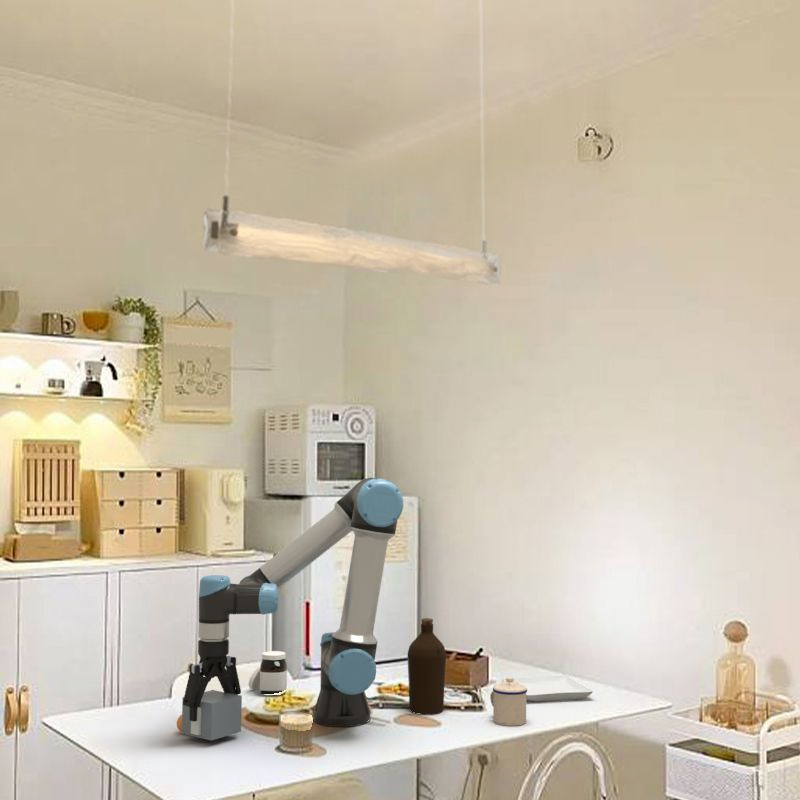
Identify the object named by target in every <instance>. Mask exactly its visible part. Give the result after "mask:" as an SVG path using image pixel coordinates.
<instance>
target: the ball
mask: <svg viewBox="0 0 800 800" xmlns="http://www.w3.org/2000/svg"><path fill="white" fill-rule="evenodd" d="M176 728H177V730H178V731H179V732H180V733H182V714H181V715H179V716H178V718H177V720H176Z"/></svg>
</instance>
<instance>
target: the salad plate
mask: <svg viewBox="0 0 800 800" xmlns="http://www.w3.org/2000/svg"><path fill="white" fill-rule="evenodd" d="M513 678H514V677H513ZM501 681H502V682H503V681H506V678H503V679H502V680H501ZM514 681H515V682H517V683H519V684H520V685H523V686H525V687H526V688H527V692H526V701H528V702H552V701H571V700H579V699H584V698H586V697H589V696H590V695H591V694H593V692H594V691H593V689H590V688H589V687H587V686H585V685H584V684H583V683H580V682H579V681H577V680H575V679H573V678H571V677H570V676H569V675H548V676H547V675H544V676H543V675H542V676H529V677H518V678H517V677H516V678H514Z"/></svg>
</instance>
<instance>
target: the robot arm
mask: <svg viewBox="0 0 800 800" xmlns="http://www.w3.org/2000/svg"><path fill="white" fill-rule="evenodd" d="M403 510H404V499H403V494H402V492H401V491H400V489H399V488H398V487H397V485H395V483H393V482H391V481H389V480H388V479H385V478H378V477H368V478H364V479H362V480H360V481H359V482H358V483H356V484H355V485H354V486H353V487H352V488H351V489H350V490H348V492H347V493H345V494H344V495H343V496H342V497H341V498H340V499H338V500H337V501H336V502H335V504H334V507H333V509H332V510H331V511H330V512H328V513H326V515H325V516H324V517H322V518H320V520H318V521H316V523H314V524H313V525H312V526H310V527H309V528H308V529H307V530H305V531H304V532H303V533H302V534H300V535H299V536H298V537H297V538H295V539H294V540H293V541H291V542H290V543H289V544H288V545H287V546H284V548H283V549H281V550H280V551H279V552H278V553H276V554H275V555H273V556H272V557H271V558H270V559H268V560H267V561H266V562H265V563H264V564H262V565H260V567H259V568H258V569H256V570H255V571H254V572H252V573H251V574H249V575H246V576H245V577H243V578H242V579H241V580H240V581H239V583H232V582H231V579H230V577H229V576H228V575H223V574H222V575H220V574H216V575H215V574H213V575H205V576H203V577H202V578H201V579H200V580H199V588H198V589H199V593H198V633H197V634H198V638H199V640H198V641H197V643H198V644H197V654H198V656H199V662H198V663H196V664H194V663H190V664H189V667H188V668H189V675H188V679H187V684H186V688H185V692H184V695H183V697H184V700H183V699H182V701H183V705H184V706H188V707H189V708H190V713H189V714H190V715H189V716H190V717H189V719H190V721H191V734H195V735H201V707H199V704H200V702H201V699H202V697H203V694H204V692H206V689H207V686H208V684H209V683H210V682H211V681H212V679H214V678H215V677H217V679H218V682H219V684H220V685H221V688H222V690H223V691H222V692H226V693H231V694H236V695H241V693H242V688H241V684H240V680H239V676H238V675H239V674H238V670H237V657H235V656H230V655H229V652H230V641H229V637H230V615H266V614H267V615H269V614H275V613H276V612H277V611H278V607H279V589H280V588H281V587H283V586H284V585H286V584H287V583H288V582H289V581H290V580H291V579H293V578H294V577H295V576H297V575H298V574H300V572H302V571H303V570H304V569H306V568H307V567H308V566H309V565H311V564H312V563H313V562H315V561H316V560H317V559H318V558H319V557H321V556H322V555H323V554H324V553H326V552H327V551H329V550H330V549H331V548H333V547H334V546H335V545H336V544H338V543H339V542H340V541H341V540H342V539H344V538H345V537H346V536H347V535H349V534H350V533H351V532H353V534H354V540H353V547H352V551H351V557H350V562H349V563H350V565H349V569H348V575H347V583H346V588H345V594H344V600H343V605H342V611H341V619H340V624H339V627H338V630H336V631H334V632H331V631H330V632H324V633H323V634H322V635H321V638H320V639H321V640H320V643H319V644H320V645H319V646H320V690H319V694H318V696H317V700H316V703H315V707H314V708H313V709H314V710H313V717H314V720H315V721H314V720H313V721H314V722H315V723H317V724H319V725H322V726H328V727H330V726H331V727H356V726H360V725H361V726H362V725H364V724H366V722H367V721H368V720H369V719H370V720H371V709H370V706H369V703H368V698H367V695H366V691H367V690H368V689H369V688H370V687H371V686H372V685H373V683H374V682H375V679H376V676H377V665H376V661H375V660H376V653H377V648H378V640H377V638H376V637H375V636H374V629H375V624H376V623H375V622H376V618H377V617H376V616H377V609H378V606H379V605H378V604H379V598H380V592H381V587H382V580H383V574H384V568H385V561H386V554H387V549H388V544H389V540H391V539H392V538H393V537H395V536H396V533H397V532H396V531H397V526H398V525H397V524H398V520H399V519H400V518H401V515H402V512H403ZM194 701H195V702H194ZM367 723H368V722H367Z"/></svg>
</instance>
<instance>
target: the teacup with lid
mask: <svg viewBox="0 0 800 800" xmlns="http://www.w3.org/2000/svg"><path fill="white" fill-rule="evenodd" d="M505 679H506V681H502V682H500V683H498V684H495V685H494V686H493V688H492V691H491V692H490V698H489V699H490V704H491V706H492V707H493V708H492V709H493V716H492V717H493V722H494V723H495V724H497V725H500V726H506V727H516V726H522V725H525V724H526V722H527V700H526V692H527V688H526V687H525V686H523V685H520V684H519V683H517V682H515V681H514V677H513V676H512V677H511V676H508V677H506V678H505Z"/></svg>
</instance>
